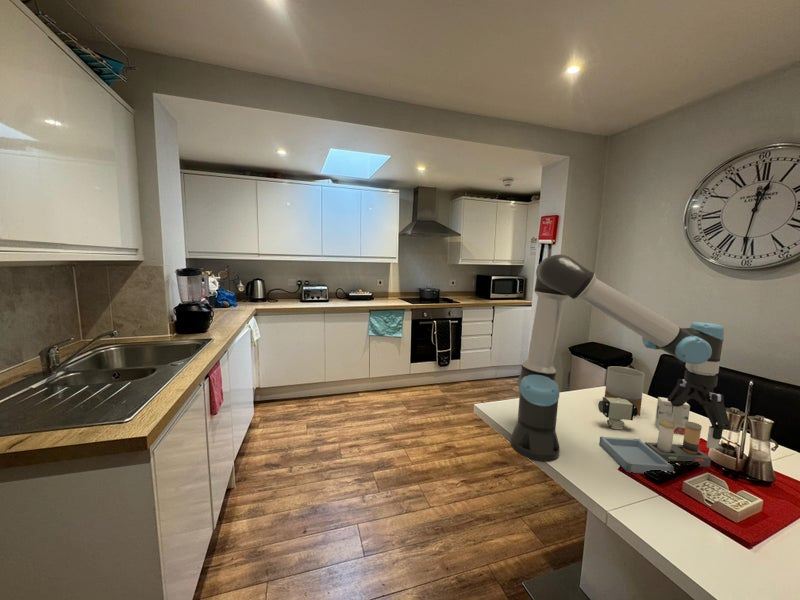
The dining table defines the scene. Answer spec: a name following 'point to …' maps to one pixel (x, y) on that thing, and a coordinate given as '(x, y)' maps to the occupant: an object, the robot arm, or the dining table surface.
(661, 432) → the cylinder
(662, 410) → the ink box
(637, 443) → the parts tray
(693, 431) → the fuse
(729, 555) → the dining table surface
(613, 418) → the pneumatic valve
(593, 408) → the dining table surface
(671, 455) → the fuse holder
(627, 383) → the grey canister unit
